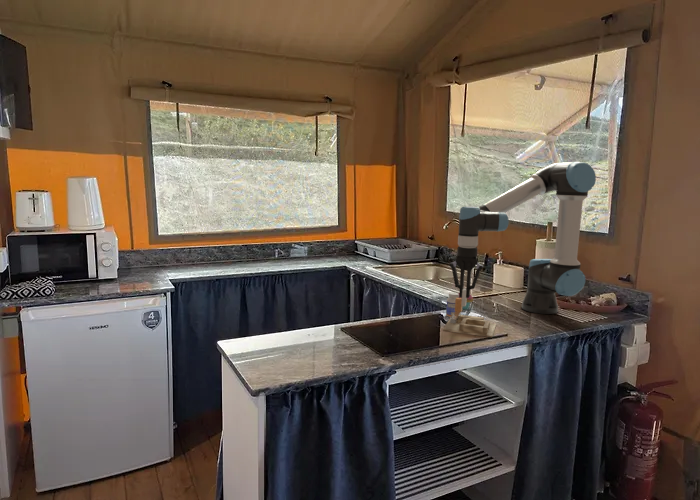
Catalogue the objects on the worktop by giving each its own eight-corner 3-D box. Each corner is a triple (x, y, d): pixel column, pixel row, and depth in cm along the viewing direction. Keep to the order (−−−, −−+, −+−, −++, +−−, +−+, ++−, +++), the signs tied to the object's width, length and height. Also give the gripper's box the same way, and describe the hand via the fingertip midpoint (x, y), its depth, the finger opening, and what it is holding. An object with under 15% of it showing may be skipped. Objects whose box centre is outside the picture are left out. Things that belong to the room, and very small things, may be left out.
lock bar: (461, 314, 193) (462, 298, 192) (456, 323, 180) (457, 306, 179) (455, 313, 194) (456, 297, 193) (449, 322, 181) (450, 305, 180)
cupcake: (458, 311, 210) (460, 284, 208) (449, 306, 218) (451, 280, 216) (476, 310, 212) (477, 283, 211) (466, 305, 220) (468, 279, 219)
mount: (496, 325, 191) (496, 317, 191) (492, 337, 176) (492, 329, 175) (450, 319, 198) (450, 311, 197) (442, 330, 182) (443, 322, 182)
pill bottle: (449, 313, 206) (451, 291, 204) (461, 316, 203) (462, 293, 201) (443, 316, 202) (444, 293, 200) (455, 318, 198) (456, 295, 197)
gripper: (485, 246, 189) (481, 305, 192) (452, 244, 193) (448, 301, 197) (483, 248, 182) (479, 309, 185) (449, 246, 186) (445, 305, 190)
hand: (463, 305), depth 191 cm, fingers closed
